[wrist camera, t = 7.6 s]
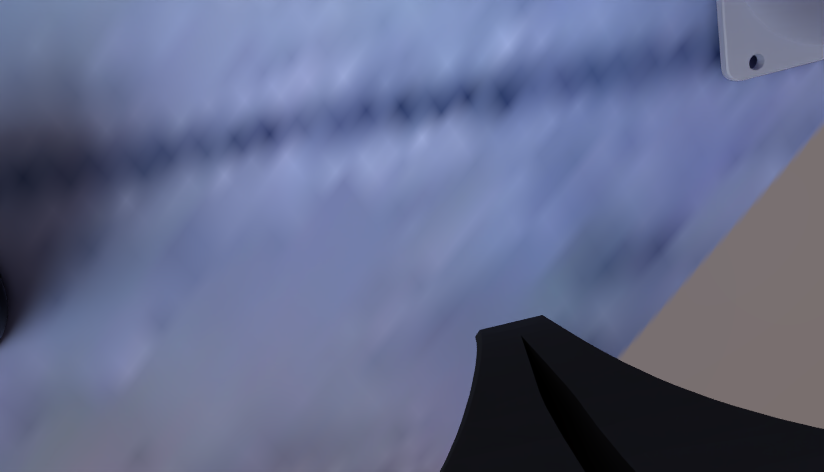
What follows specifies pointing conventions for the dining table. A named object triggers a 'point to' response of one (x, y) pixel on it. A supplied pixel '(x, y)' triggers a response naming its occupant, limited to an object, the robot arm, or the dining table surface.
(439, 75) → the dining table surface
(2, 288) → the supplement bottle
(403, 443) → the dining table surface
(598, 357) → the robot arm
